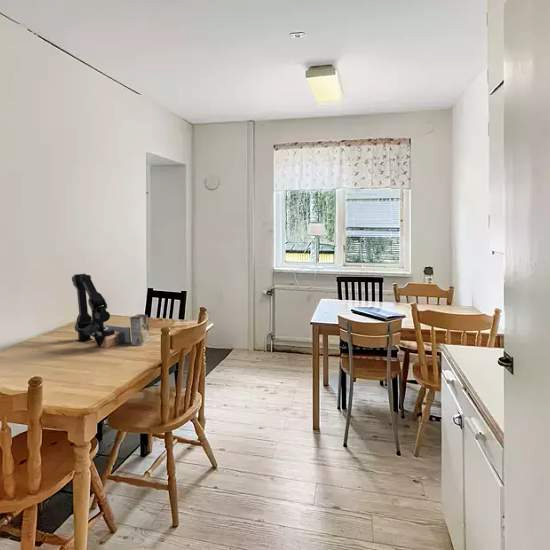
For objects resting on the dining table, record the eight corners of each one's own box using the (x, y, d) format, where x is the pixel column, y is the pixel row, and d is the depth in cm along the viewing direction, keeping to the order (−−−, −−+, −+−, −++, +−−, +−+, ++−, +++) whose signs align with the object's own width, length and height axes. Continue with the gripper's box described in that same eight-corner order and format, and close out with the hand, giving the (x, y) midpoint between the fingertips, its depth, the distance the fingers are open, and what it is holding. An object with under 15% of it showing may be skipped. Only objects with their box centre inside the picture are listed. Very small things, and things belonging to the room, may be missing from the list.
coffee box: (139, 340, 243) (138, 314, 241) (149, 341, 242) (148, 314, 240) (131, 345, 234) (129, 317, 232) (141, 345, 233) (140, 317, 231)
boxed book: (100, 346, 232) (99, 335, 231) (114, 342, 241) (113, 331, 240) (106, 347, 230) (105, 336, 229) (120, 342, 239) (119, 331, 238)
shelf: (98, 342, 241) (96, 327, 240) (106, 339, 247) (105, 324, 246) (122, 345, 233) (121, 330, 232) (131, 342, 239) (130, 327, 238)
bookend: (116, 344, 236) (115, 334, 235) (123, 342, 240) (122, 332, 239) (122, 345, 234) (122, 335, 233) (129, 343, 238) (128, 333, 237)
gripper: (73, 320, 224) (75, 348, 226) (98, 323, 216) (100, 352, 218) (90, 316, 234) (92, 343, 236) (114, 319, 226) (116, 346, 228)
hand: (99, 346), depth 229 cm, fingers closed, pressing on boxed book
